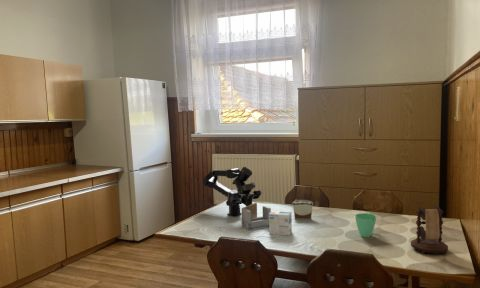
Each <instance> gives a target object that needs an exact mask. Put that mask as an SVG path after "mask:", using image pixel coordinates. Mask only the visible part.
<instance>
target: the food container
mask: <svg viewBox="0 0 480 288" xmlns="http://www.w3.org/2000/svg"><path fill="white" fill-rule="evenodd" d="M291 206H292V207H293V214H294V220H312V217H313V216H312V213H313V207H314V206H315V205H314V202H313V201H311V200H308V199H297V200H294V201H292V205H291Z"/></svg>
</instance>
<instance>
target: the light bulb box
mask: <svg viewBox="0 0 480 288" xmlns="http://www.w3.org/2000/svg"><path fill="white" fill-rule="evenodd" d="M292 219H293V218H292V211H282V210H280V211H279V210H271V212H270V213H269V226H268V230H269V235H279V236H280V235H281V236H290V235H291V233H292V232H293V228H292V226H293V225H292V223H293V222H292V221H293V220H292Z"/></svg>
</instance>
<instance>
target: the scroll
mask: <svg viewBox="0 0 480 288" xmlns="http://www.w3.org/2000/svg"><path fill="white" fill-rule="evenodd" d="M443 213H444V210H443V209H441V208H440V206H439V205H434V207H433V208H432V209H431V208H428V209H426V208H425V207H424V206H423V205H420V206H419V208H418V209H417V211H416V216H417V217H416V221H415V224H416V227H417V228H416V236H417V237H416V238H415V239H413V240H411V241H410V246H411V247H412V248H413V249H415V250H416V251H417V250H418V251H421V252H422V254H423V253H430V254H431V253H432V254H441V253H442V254H443V253H444V254H445V253H446V254H447V252H448V251H449V246H448V244H446V243H445V242H444V241H443V238H442V236H443V231H442V230H443V227H442V226H443V224H444V221H443ZM422 225H425V228H424V227H423V226H422Z"/></svg>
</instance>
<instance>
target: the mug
mask: <svg viewBox="0 0 480 288" xmlns="http://www.w3.org/2000/svg"><path fill="white" fill-rule="evenodd" d="M376 221H377V216H376V215H375V214H373V213H371V212H367V213H366V212H365V213H364V212H362V213H357V214H355V222H356V227H357V230H358V232H359V235H360V237H362V238H370V237H372V234H373V231H374V229H375V225H376Z"/></svg>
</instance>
